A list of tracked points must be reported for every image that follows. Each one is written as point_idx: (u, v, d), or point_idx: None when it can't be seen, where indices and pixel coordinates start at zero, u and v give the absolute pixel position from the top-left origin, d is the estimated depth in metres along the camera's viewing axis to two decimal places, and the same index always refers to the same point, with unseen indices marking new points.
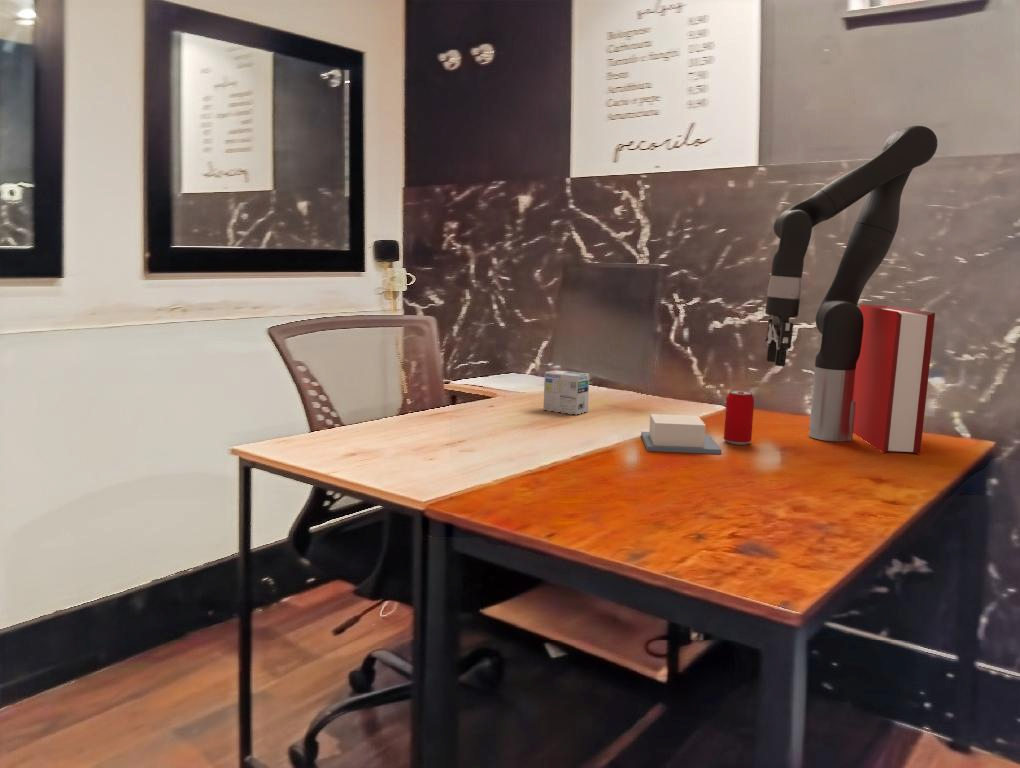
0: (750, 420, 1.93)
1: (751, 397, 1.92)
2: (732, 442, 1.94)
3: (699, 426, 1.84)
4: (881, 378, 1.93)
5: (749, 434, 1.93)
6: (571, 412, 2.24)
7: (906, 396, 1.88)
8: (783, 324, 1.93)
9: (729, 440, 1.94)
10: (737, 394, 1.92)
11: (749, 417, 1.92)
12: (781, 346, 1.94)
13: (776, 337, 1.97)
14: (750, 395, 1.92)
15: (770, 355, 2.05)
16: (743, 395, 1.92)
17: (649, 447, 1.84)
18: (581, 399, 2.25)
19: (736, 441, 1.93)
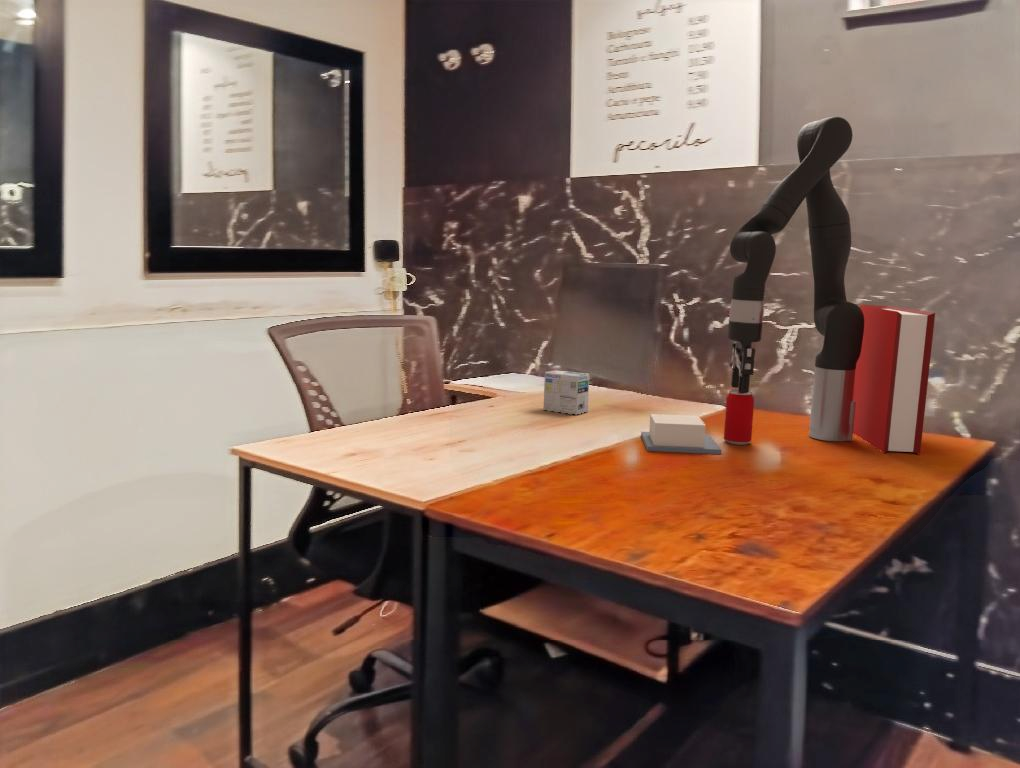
0: (750, 420, 1.93)
1: (751, 397, 1.92)
2: (732, 442, 1.94)
3: (699, 426, 1.84)
4: (881, 378, 1.93)
5: (749, 434, 1.93)
6: (571, 412, 2.24)
7: (906, 396, 1.88)
8: (744, 350, 1.86)
9: (729, 440, 1.94)
10: (737, 394, 1.92)
11: (749, 417, 1.92)
12: (743, 373, 1.87)
13: (738, 363, 1.90)
14: (750, 395, 1.92)
15: (735, 381, 1.98)
16: (743, 395, 1.92)
17: (649, 447, 1.84)
18: (581, 399, 2.25)
19: (736, 441, 1.93)
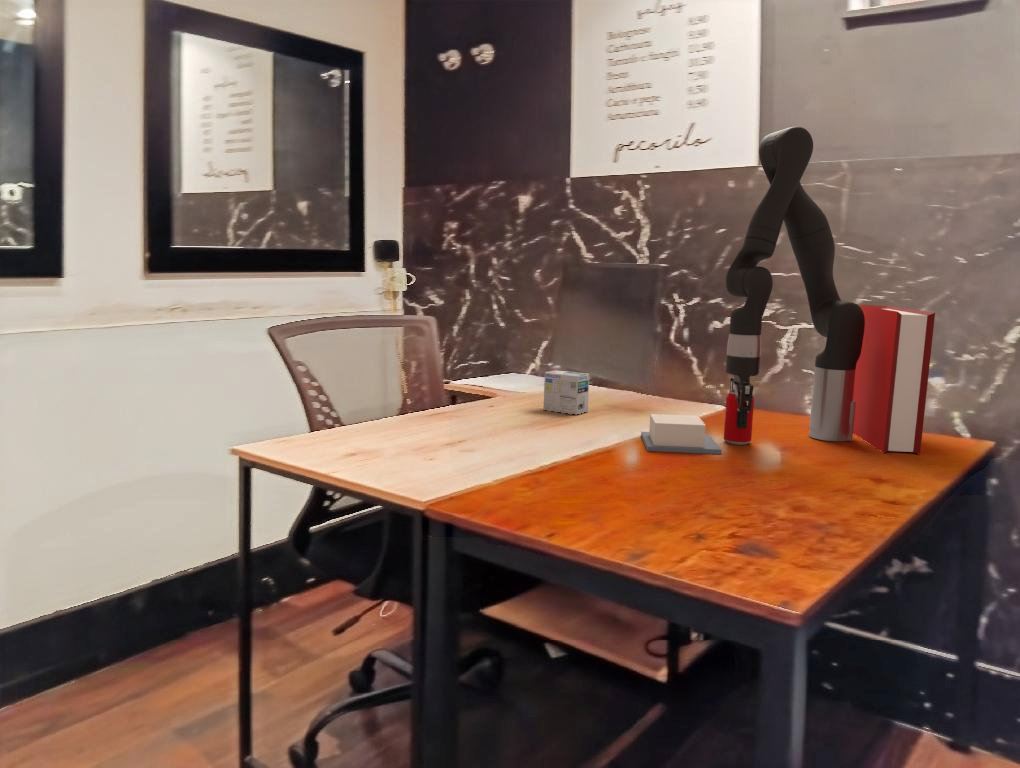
0: (750, 420, 1.93)
1: None
2: (732, 442, 1.94)
3: (699, 426, 1.84)
4: (881, 378, 1.93)
5: (749, 434, 1.93)
6: (571, 412, 2.24)
7: (906, 396, 1.88)
8: (743, 388, 1.87)
9: (729, 440, 1.94)
10: None
11: (749, 417, 1.92)
12: (741, 409, 1.89)
13: (736, 399, 1.91)
14: None
15: None
16: None
17: (649, 447, 1.84)
18: (581, 399, 2.25)
19: (736, 441, 1.93)
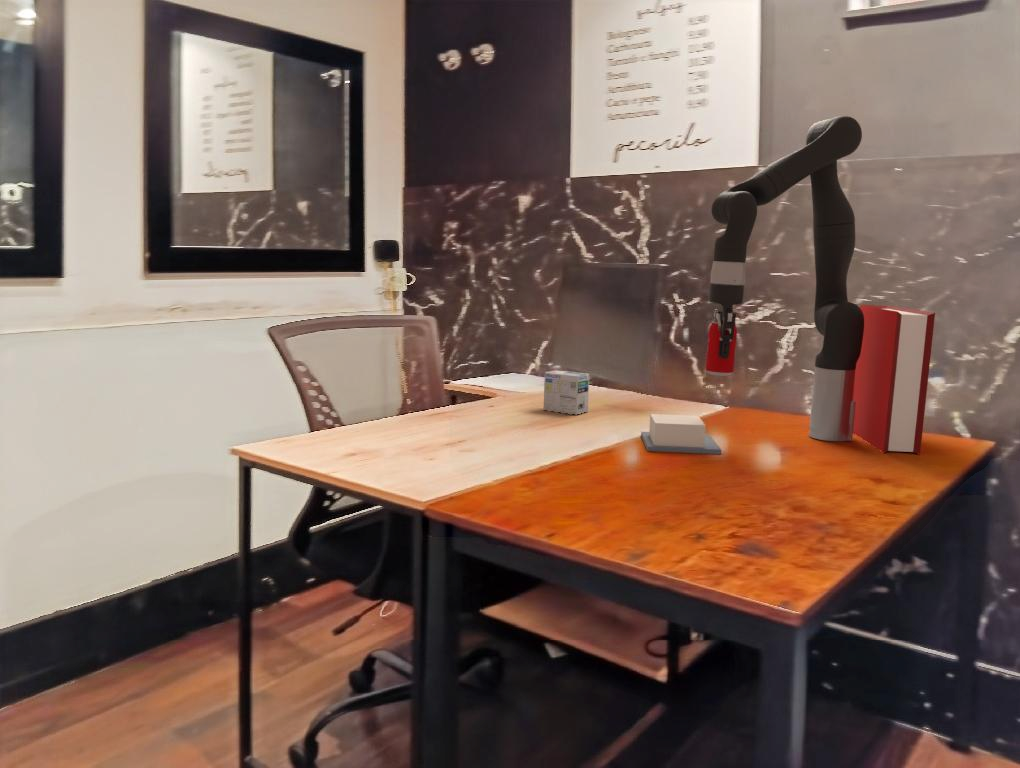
0: (732, 350, 1.89)
1: (734, 327, 1.88)
2: (714, 373, 1.90)
3: (699, 426, 1.84)
4: (881, 378, 1.93)
5: (731, 365, 1.89)
6: (571, 412, 2.24)
7: (906, 396, 1.88)
8: (725, 315, 1.83)
9: (711, 371, 1.90)
10: None
11: (731, 347, 1.88)
12: (723, 337, 1.85)
13: (719, 327, 1.87)
14: None
15: None
16: None
17: (649, 447, 1.84)
18: (581, 399, 2.25)
19: (718, 371, 1.89)
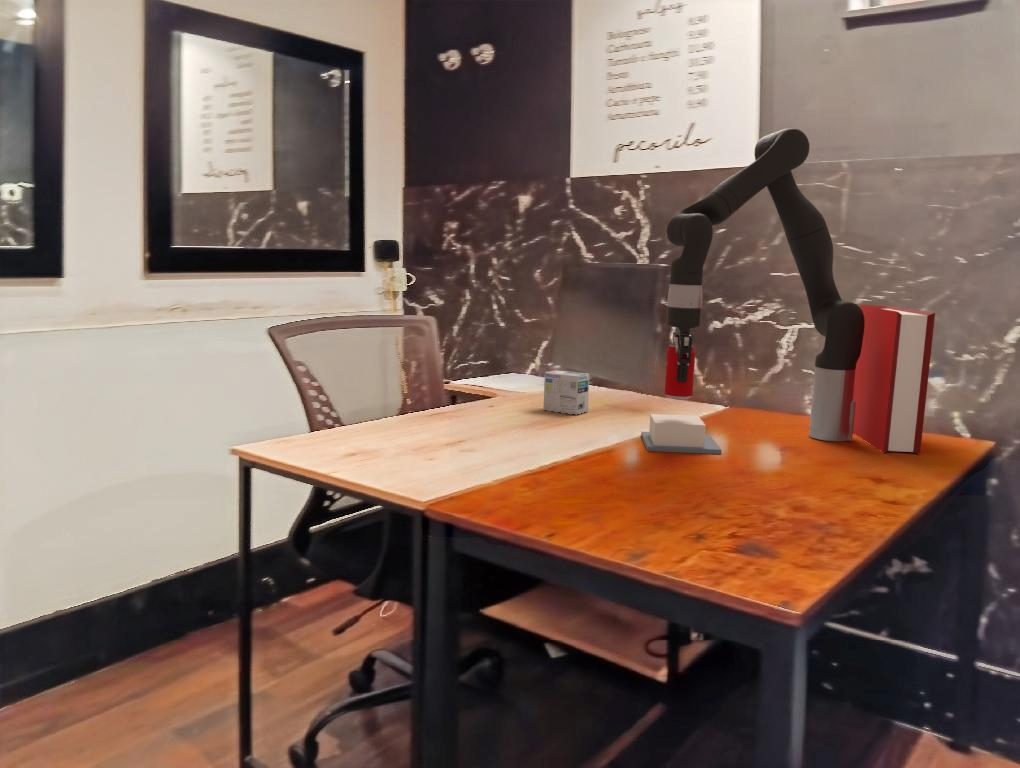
0: (691, 374, 1.86)
1: (692, 350, 1.86)
2: (672, 397, 1.87)
3: (699, 426, 1.84)
4: (881, 378, 1.93)
5: (690, 388, 1.87)
6: (571, 412, 2.24)
7: (906, 396, 1.88)
8: (682, 339, 1.81)
9: (669, 395, 1.87)
10: None
11: (689, 371, 1.86)
12: (680, 361, 1.82)
13: (676, 351, 1.85)
14: None
15: None
16: None
17: (649, 447, 1.84)
18: (581, 399, 2.25)
19: (676, 395, 1.86)
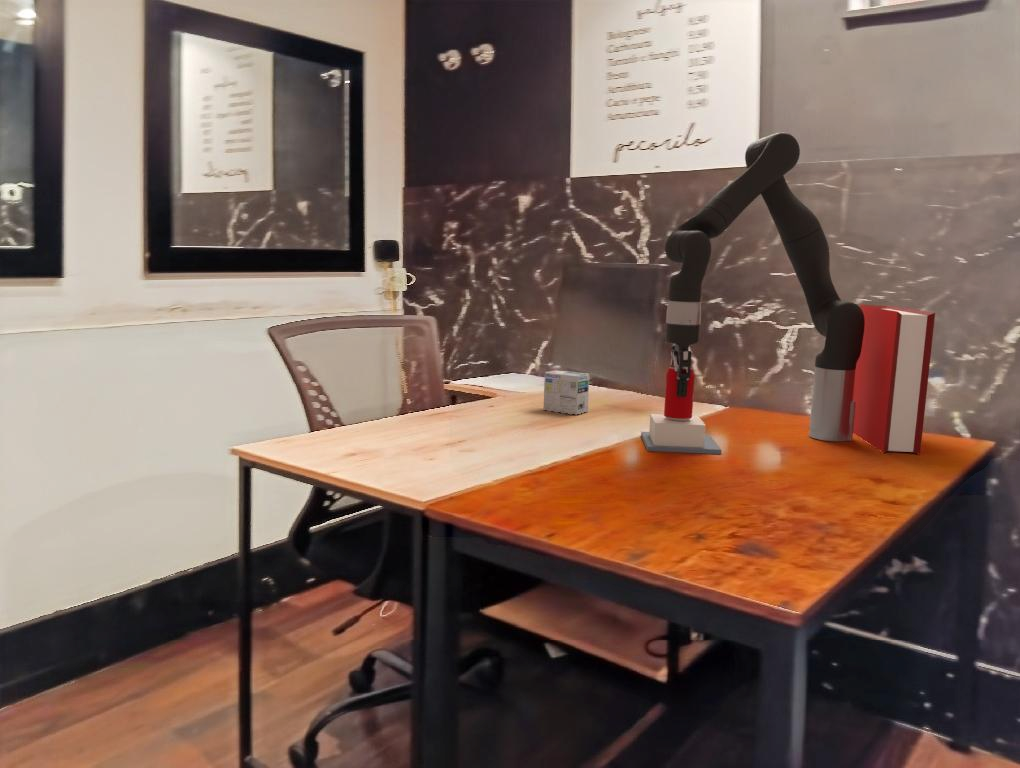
0: (690, 396, 1.87)
1: (691, 372, 1.86)
2: (671, 418, 1.88)
3: (699, 426, 1.84)
4: (881, 378, 1.93)
5: (689, 410, 1.87)
6: (571, 412, 2.24)
7: (906, 396, 1.88)
8: (681, 353, 1.81)
9: (668, 416, 1.88)
10: None
11: (689, 393, 1.86)
12: (680, 376, 1.82)
13: (676, 366, 1.84)
14: None
15: None
16: None
17: (649, 447, 1.84)
18: (581, 399, 2.25)
19: (675, 417, 1.87)
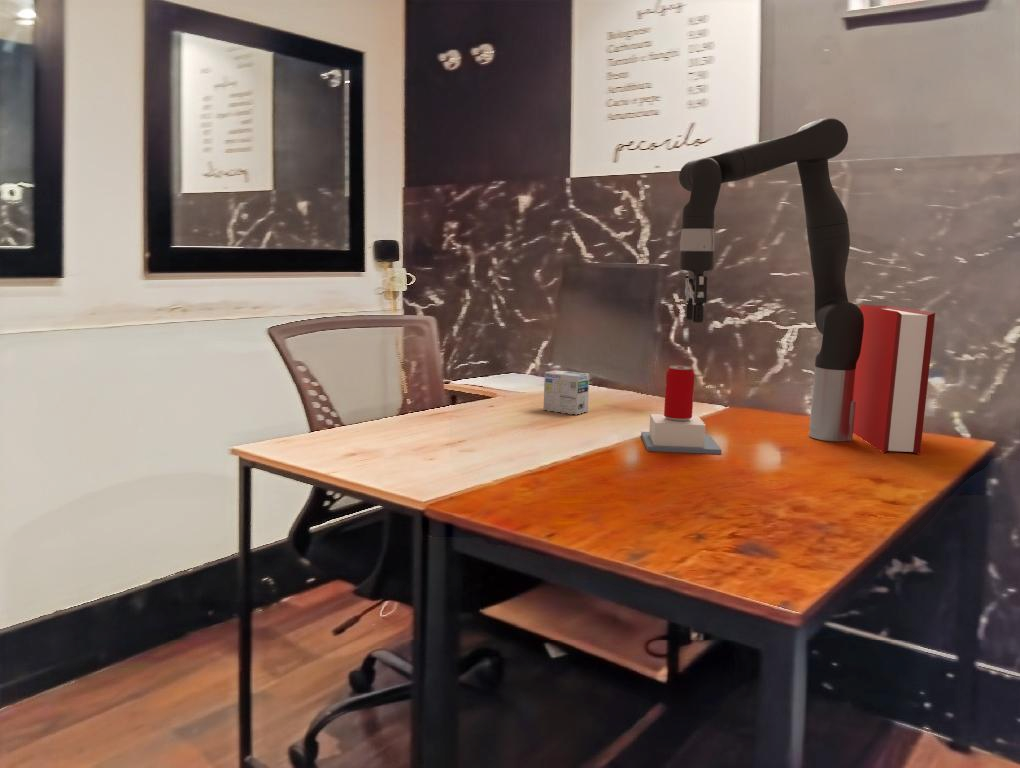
0: (690, 396, 1.87)
1: (691, 372, 1.86)
2: (671, 419, 1.88)
3: (699, 426, 1.84)
4: (881, 378, 1.93)
5: (689, 410, 1.87)
6: (571, 412, 2.24)
7: (906, 396, 1.88)
8: (697, 278, 1.85)
9: (668, 416, 1.88)
10: (676, 369, 1.86)
11: (689, 393, 1.86)
12: (696, 301, 1.85)
13: (691, 292, 1.88)
14: (690, 370, 1.86)
15: (689, 313, 1.96)
16: (682, 370, 1.86)
17: (649, 447, 1.84)
18: (581, 399, 2.25)
19: (675, 417, 1.87)
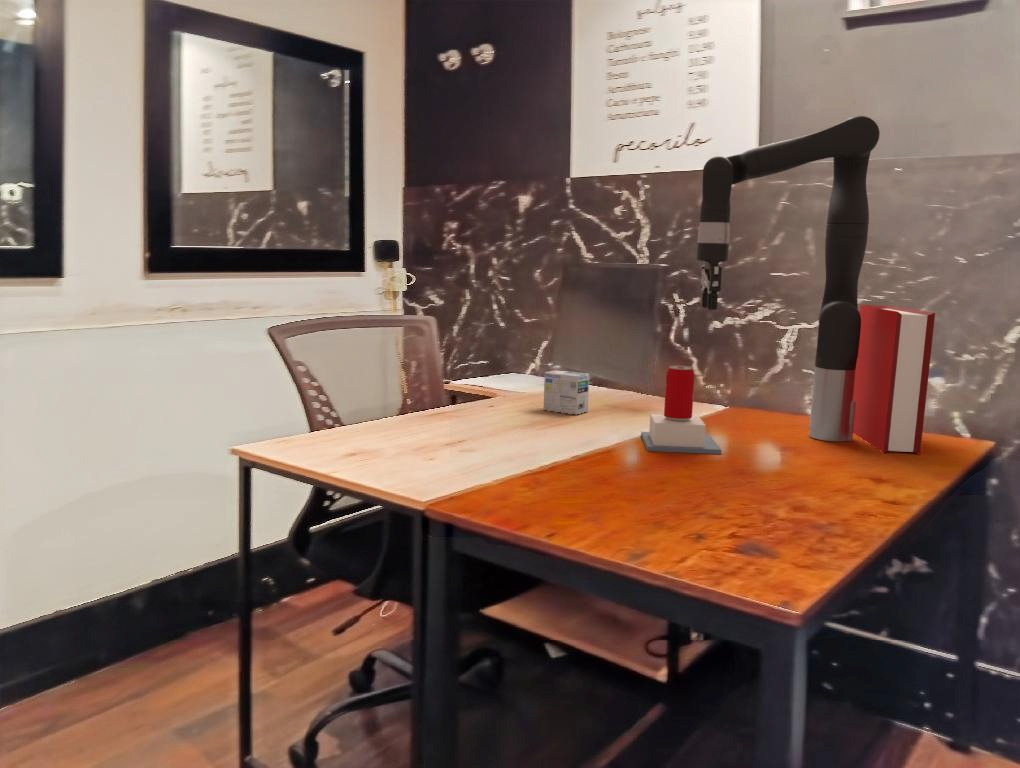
0: (690, 396, 1.87)
1: (691, 372, 1.86)
2: (671, 419, 1.88)
3: (699, 426, 1.84)
4: (881, 378, 1.93)
5: (689, 410, 1.87)
6: (571, 412, 2.24)
7: (906, 396, 1.88)
8: (712, 268, 1.98)
9: (668, 416, 1.88)
10: (676, 369, 1.86)
11: (689, 393, 1.86)
12: (711, 289, 1.99)
13: (707, 282, 2.02)
14: (690, 370, 1.86)
15: (705, 301, 2.10)
16: (682, 370, 1.86)
17: (649, 447, 1.84)
18: (581, 399, 2.25)
19: (675, 417, 1.87)
